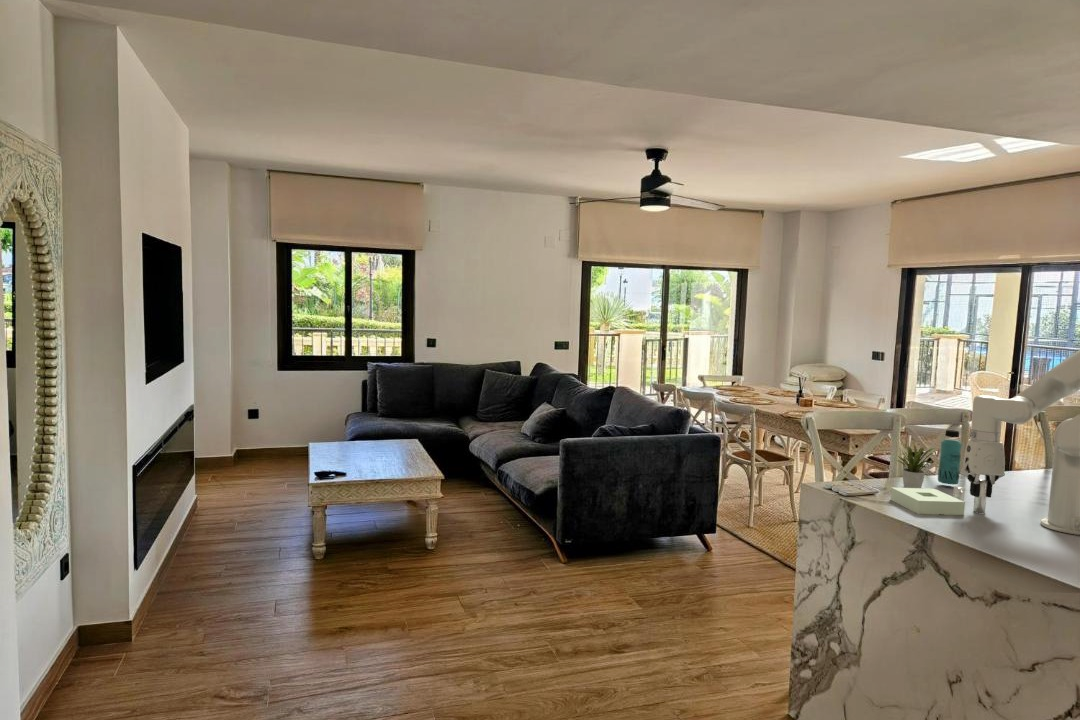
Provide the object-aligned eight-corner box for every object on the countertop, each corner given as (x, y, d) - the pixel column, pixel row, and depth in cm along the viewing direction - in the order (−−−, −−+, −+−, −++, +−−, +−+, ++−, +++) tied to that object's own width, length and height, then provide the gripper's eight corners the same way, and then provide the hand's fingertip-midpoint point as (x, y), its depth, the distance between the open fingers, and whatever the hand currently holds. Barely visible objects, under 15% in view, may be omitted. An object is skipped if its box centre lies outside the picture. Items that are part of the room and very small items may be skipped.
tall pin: (987, 514, 200) (990, 481, 199) (977, 513, 200) (980, 481, 199) (980, 511, 203) (983, 479, 202) (971, 510, 203) (973, 478, 202)
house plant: (950, 493, 223) (954, 445, 222) (921, 496, 218) (924, 447, 217) (912, 482, 237) (916, 437, 235) (884, 485, 231) (887, 439, 230)
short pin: (965, 504, 210) (967, 489, 210) (956, 504, 210) (957, 488, 210) (959, 501, 213) (960, 486, 213) (950, 501, 213) (951, 486, 213)
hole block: (963, 515, 198) (964, 502, 198) (917, 513, 198) (918, 500, 197) (933, 500, 213) (934, 488, 213) (890, 499, 213) (891, 487, 212)
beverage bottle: (932, 484, 235) (936, 428, 233) (946, 483, 237) (951, 428, 235) (948, 489, 228) (953, 432, 227) (963, 488, 230) (968, 431, 229)
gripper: (966, 438, 196) (961, 498, 197) (1021, 439, 196) (1016, 500, 198) (950, 433, 203) (946, 492, 205) (1003, 434, 204) (998, 493, 205)
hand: (980, 495), depth 201 cm, fingers closed on tall pin, 3 cm apart
